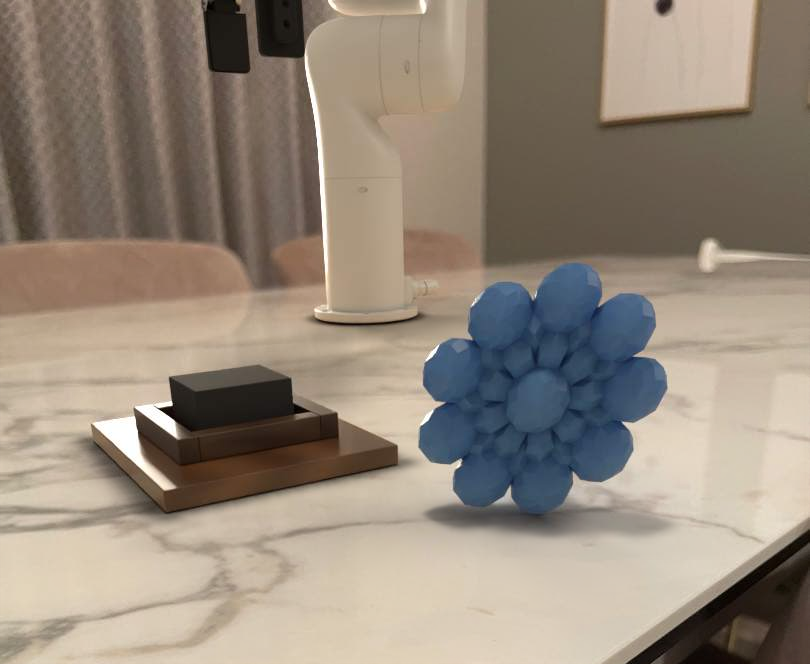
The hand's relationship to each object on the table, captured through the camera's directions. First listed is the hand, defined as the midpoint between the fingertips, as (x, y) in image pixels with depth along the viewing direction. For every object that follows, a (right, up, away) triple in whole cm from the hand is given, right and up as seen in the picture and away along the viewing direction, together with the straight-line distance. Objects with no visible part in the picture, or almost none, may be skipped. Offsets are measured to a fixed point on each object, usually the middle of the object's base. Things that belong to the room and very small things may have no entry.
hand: (254, 65), depth 61 cm
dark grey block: (0, -28, -9) cm, 29 cm away
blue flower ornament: (+17, -33, -18) cm, 41 cm away
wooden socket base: (0, -29, -8) cm, 30 cm away
